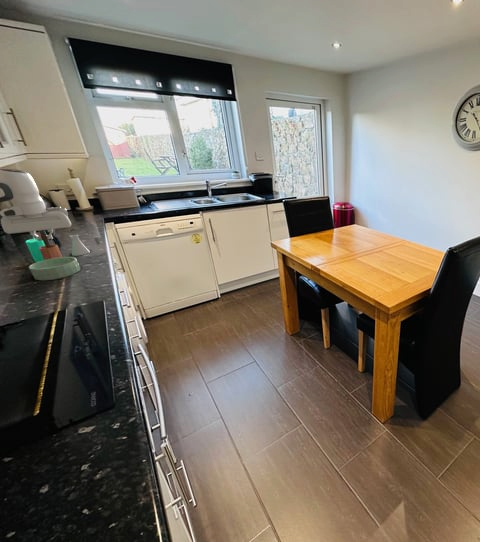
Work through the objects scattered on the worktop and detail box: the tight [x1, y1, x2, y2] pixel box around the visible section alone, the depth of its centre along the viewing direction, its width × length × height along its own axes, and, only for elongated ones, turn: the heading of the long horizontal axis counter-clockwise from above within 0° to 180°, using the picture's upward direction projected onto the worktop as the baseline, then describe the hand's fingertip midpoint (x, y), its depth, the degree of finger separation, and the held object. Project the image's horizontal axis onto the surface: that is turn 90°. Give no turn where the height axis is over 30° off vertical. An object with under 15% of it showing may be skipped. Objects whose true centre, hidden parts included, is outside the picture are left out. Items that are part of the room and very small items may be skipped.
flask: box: [69, 234, 91, 256], centre depth 142 cm, size 7×7×10 cm
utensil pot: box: [39, 244, 63, 260], centre depth 129 cm, size 6×6×9 cm
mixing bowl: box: [28, 256, 81, 281], centre depth 121 cm, size 14×14×6 cm
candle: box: [25, 236, 45, 263], centre depth 133 cm, size 6×6×12 cm
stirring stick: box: [38, 230, 52, 248], centre depth 128 cm, size 3×2×16 cm
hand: (45, 239), depth 126 cm, fingers closed on stirring stick, 2 cm apart
